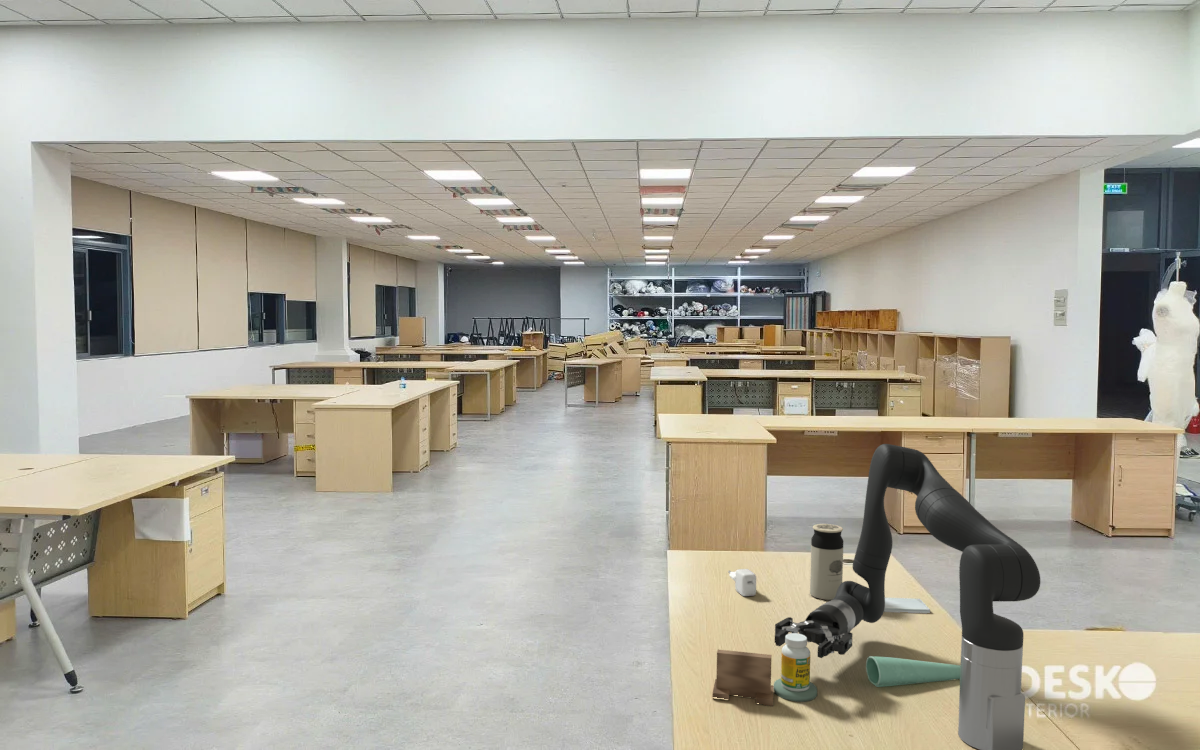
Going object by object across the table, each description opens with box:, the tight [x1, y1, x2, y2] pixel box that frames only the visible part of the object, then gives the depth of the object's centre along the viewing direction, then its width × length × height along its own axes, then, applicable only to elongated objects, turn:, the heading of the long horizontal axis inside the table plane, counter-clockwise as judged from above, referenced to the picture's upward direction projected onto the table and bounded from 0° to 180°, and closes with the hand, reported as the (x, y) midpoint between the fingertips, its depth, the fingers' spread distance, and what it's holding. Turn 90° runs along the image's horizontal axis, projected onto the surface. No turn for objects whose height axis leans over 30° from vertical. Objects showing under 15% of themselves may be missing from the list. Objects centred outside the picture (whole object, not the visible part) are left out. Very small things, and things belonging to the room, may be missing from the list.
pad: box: [773, 678, 818, 703], centre depth 151 cm, size 8×8×1 cm
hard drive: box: [884, 597, 931, 614], centre depth 198 cm, size 2×8×12 cm
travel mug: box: [809, 523, 844, 601], centre depth 205 cm, size 8×8×18 cm
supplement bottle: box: [780, 632, 811, 692], centre depth 151 cm, size 5×5×10 cm
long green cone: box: [865, 655, 961, 688], centre depth 157 cm, size 5×6×27 cm
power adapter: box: [727, 568, 757, 597], centre depth 209 cm, size 11×5×6 cm, turn 13°
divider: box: [711, 649, 775, 707], centre depth 149 cm, size 11×6×8 cm, turn 77°
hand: (798, 646), depth 151 cm, fingers open, 8 cm apart
